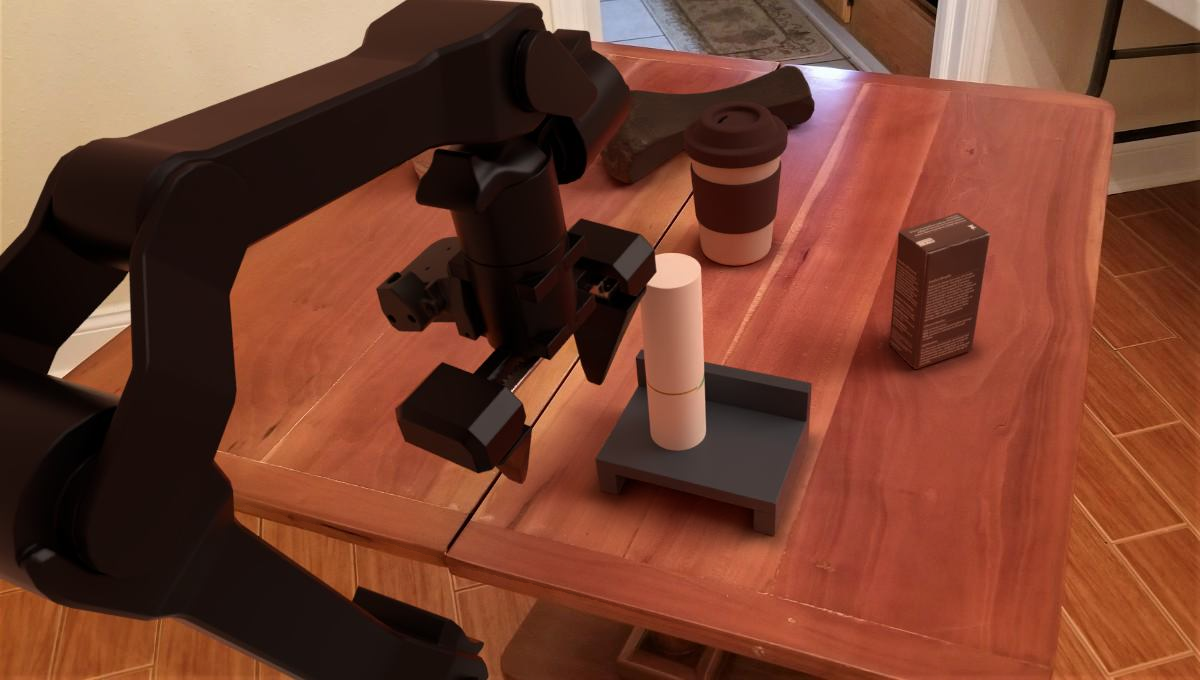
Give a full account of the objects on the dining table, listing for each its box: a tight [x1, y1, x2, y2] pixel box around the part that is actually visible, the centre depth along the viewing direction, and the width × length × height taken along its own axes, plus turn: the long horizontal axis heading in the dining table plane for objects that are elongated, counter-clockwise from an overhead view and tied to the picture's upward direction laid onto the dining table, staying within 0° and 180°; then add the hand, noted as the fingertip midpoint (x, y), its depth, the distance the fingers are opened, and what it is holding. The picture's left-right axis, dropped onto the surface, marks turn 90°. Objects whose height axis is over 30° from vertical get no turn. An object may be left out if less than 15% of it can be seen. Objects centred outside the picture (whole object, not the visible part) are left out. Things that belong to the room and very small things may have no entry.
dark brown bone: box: [599, 65, 816, 185], centre depth 115 cm, size 11×10×28 cm
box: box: [888, 212, 991, 370], centre depth 79 cm, size 6×4×12 cm
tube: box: [639, 252, 706, 451], centre depth 68 cm, size 4×4×15 cm
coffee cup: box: [684, 101, 789, 266], centre depth 94 cm, size 10×10×15 cm
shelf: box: [594, 348, 813, 537], centre depth 72 cm, size 10×14×6 cm
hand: (557, 429), depth 60 cm, fingers open, 9 cm apart
